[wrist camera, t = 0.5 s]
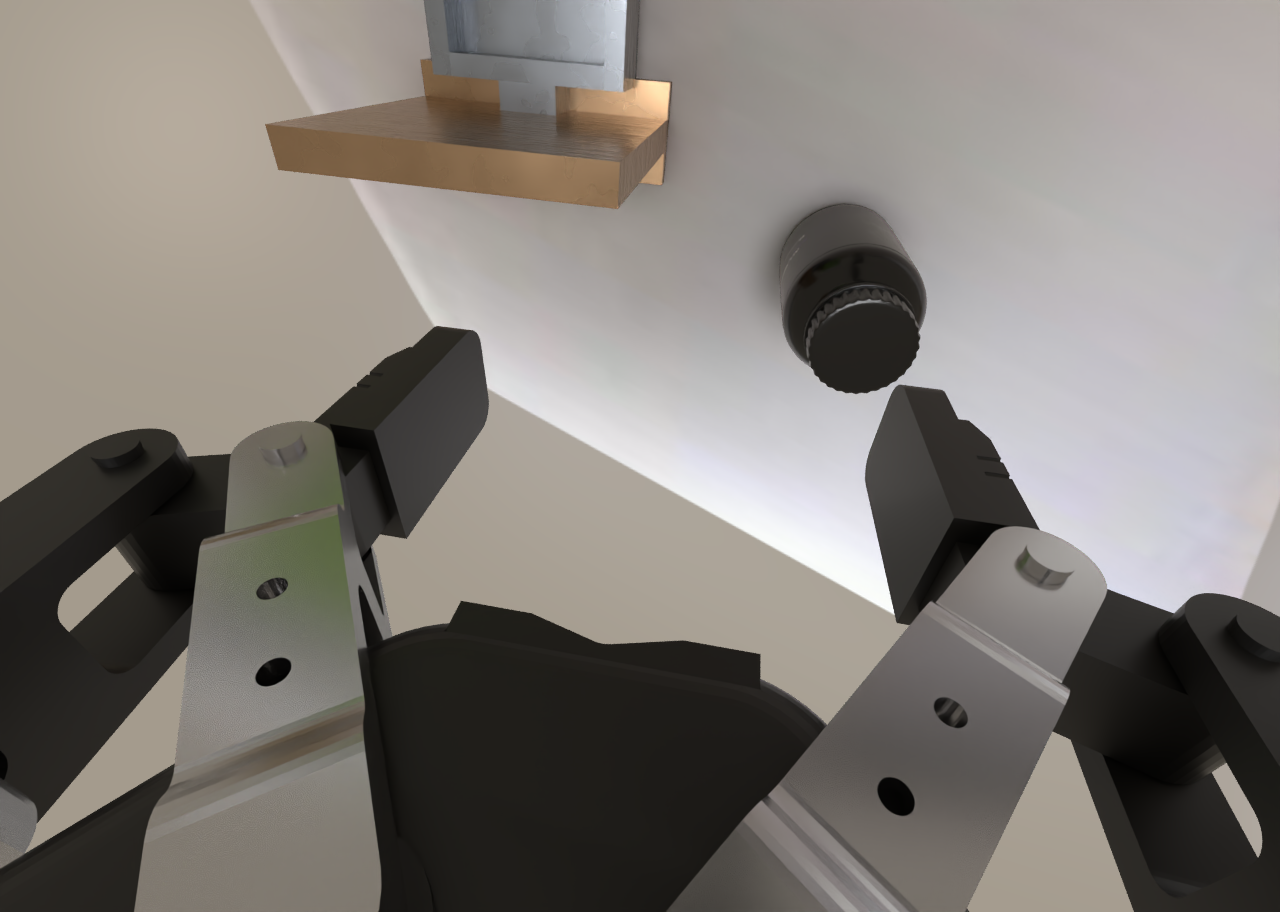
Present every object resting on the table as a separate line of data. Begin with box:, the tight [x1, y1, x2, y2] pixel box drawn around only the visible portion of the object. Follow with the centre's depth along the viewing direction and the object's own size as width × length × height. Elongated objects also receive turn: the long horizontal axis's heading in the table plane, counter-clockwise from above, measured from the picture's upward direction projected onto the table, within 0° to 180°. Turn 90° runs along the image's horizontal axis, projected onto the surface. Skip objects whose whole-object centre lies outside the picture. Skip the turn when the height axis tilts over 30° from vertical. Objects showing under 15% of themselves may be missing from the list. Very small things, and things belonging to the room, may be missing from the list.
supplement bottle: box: [779, 204, 927, 394], centre depth 30 cm, size 7×7×12 cm
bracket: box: [265, 0, 672, 209], centre depth 24 cm, size 15×14×14 cm
